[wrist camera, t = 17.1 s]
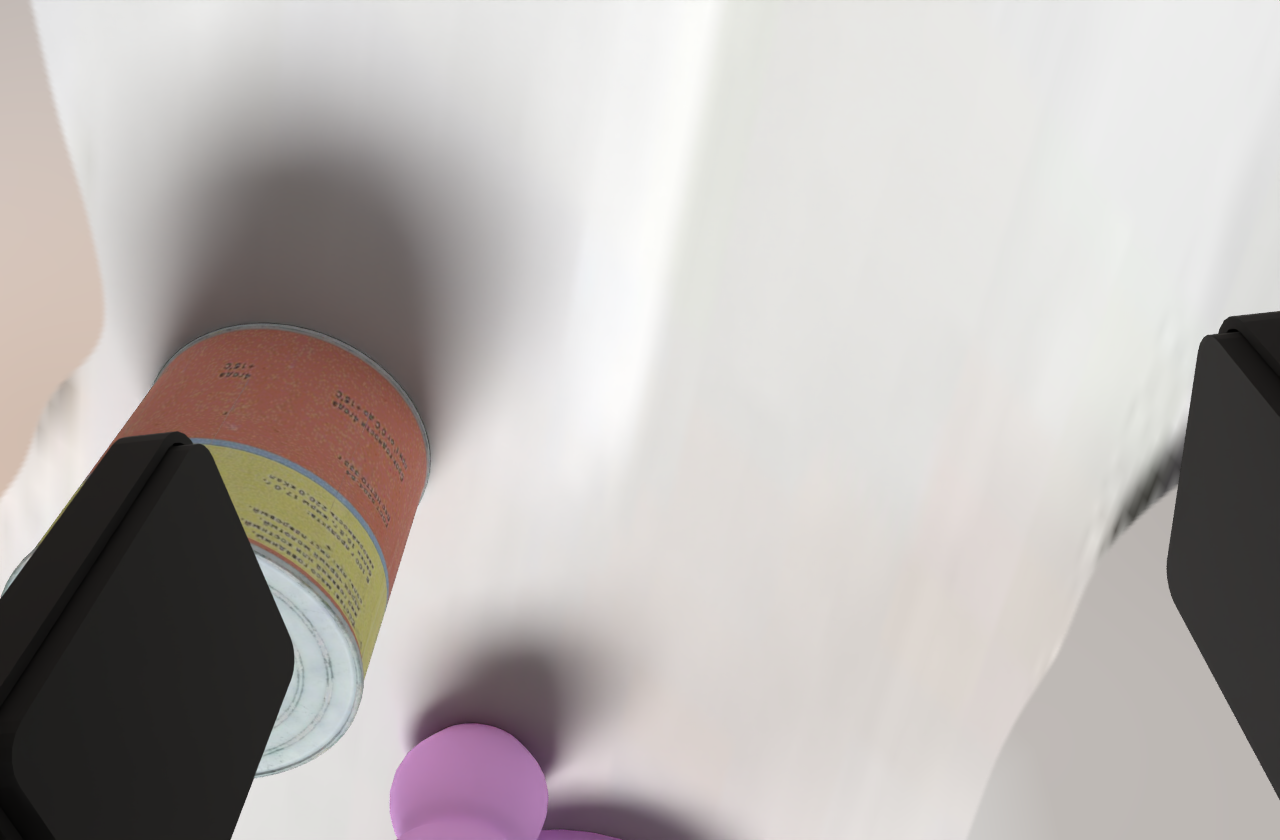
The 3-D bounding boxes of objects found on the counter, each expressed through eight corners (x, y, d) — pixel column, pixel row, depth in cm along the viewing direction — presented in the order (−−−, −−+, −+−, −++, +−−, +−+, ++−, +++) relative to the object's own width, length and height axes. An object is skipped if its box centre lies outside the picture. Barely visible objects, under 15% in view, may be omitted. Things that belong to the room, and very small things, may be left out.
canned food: (99, 346, 43) (-74, 550, 33) (380, 301, 42) (288, 499, 32) (214, 567, 49) (97, 796, 39) (463, 534, 48) (407, 762, 38)
